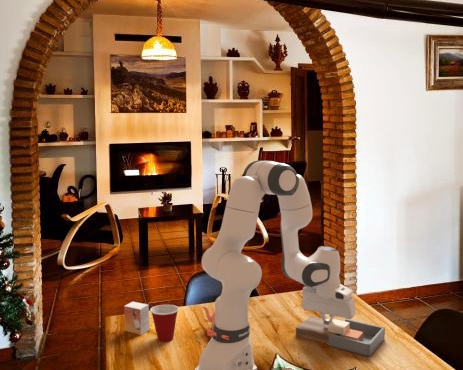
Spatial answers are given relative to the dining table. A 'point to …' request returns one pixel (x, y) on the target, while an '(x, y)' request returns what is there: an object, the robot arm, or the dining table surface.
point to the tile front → (354, 335)
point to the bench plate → (314, 330)
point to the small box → (136, 318)
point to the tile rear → (338, 326)
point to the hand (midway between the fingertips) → (327, 324)
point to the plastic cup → (164, 321)
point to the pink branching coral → (210, 316)
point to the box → (365, 347)
